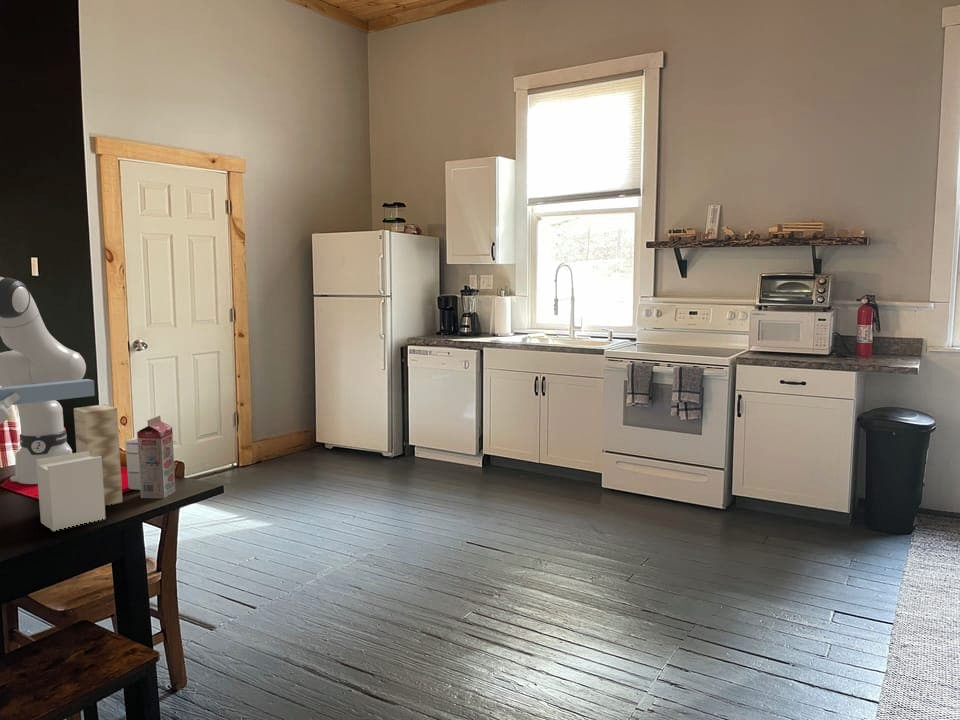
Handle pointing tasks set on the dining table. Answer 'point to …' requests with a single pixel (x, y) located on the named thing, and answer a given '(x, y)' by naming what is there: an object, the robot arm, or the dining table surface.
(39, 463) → the cream block
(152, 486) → the juice carton
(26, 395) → the bar
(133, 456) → the syrup box
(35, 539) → the dining table surface
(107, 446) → the post
